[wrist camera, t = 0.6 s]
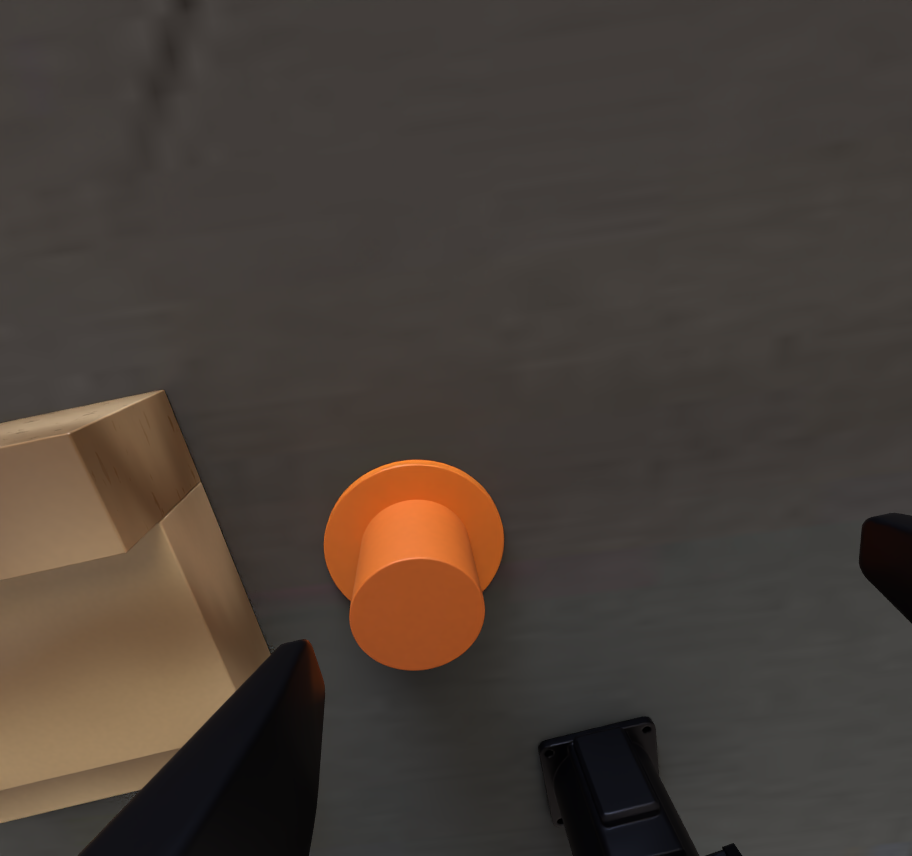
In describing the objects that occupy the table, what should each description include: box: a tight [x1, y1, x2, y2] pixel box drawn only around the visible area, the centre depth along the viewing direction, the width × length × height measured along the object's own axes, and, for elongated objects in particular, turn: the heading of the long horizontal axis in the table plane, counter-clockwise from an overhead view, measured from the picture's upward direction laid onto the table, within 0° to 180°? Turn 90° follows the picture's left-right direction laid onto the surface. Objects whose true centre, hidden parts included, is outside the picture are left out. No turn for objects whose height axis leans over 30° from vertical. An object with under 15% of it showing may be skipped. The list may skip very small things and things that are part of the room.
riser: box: [0, 390, 271, 823], centre depth 18 cm, size 18×14×6 cm
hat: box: [324, 460, 504, 671], centre depth 19 cm, size 8×8×5 cm
